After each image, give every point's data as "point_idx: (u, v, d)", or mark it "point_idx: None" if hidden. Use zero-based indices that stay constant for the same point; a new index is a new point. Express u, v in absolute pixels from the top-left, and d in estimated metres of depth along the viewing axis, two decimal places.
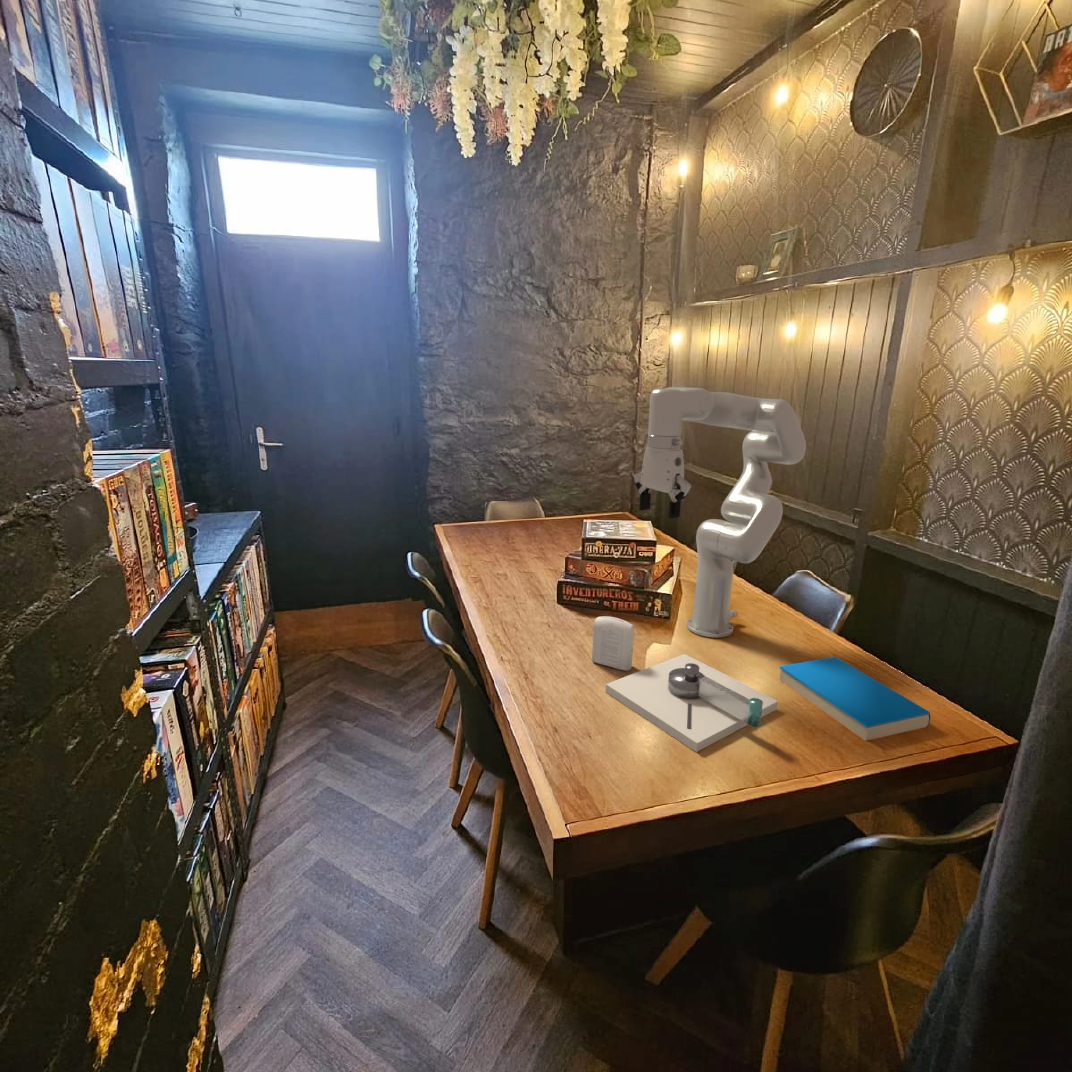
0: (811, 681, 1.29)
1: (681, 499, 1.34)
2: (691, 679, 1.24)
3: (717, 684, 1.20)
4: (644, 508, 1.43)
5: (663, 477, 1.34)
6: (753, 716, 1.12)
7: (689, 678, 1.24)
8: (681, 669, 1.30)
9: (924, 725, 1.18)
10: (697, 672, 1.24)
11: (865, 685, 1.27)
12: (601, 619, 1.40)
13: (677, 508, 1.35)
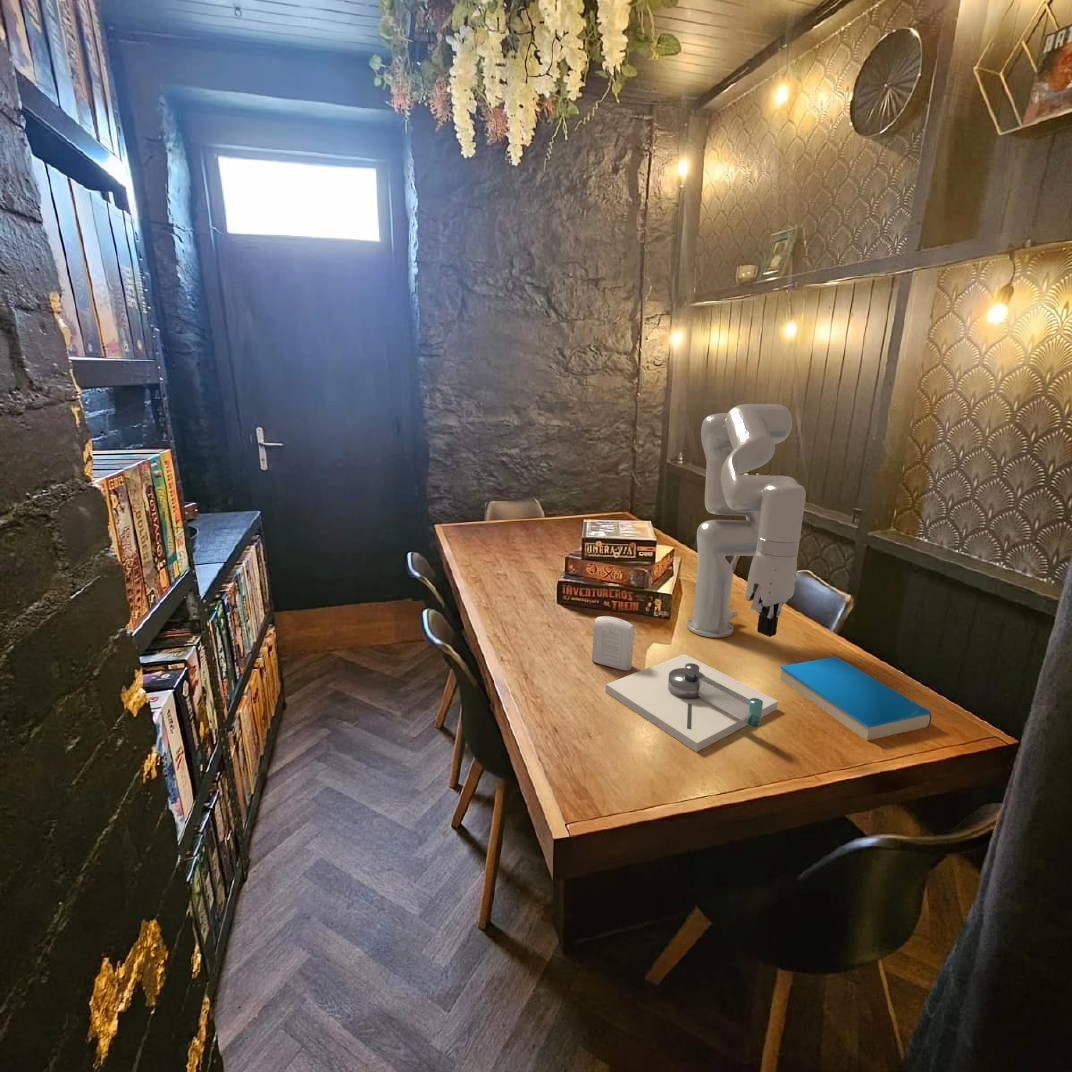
0: (812, 681, 1.29)
1: None
2: (691, 679, 1.24)
3: (717, 684, 1.20)
4: None
5: (791, 584, 1.13)
6: (753, 716, 1.12)
7: (689, 678, 1.24)
8: (681, 669, 1.30)
9: (925, 725, 1.18)
10: (697, 672, 1.24)
11: (866, 685, 1.27)
12: (601, 619, 1.40)
13: None
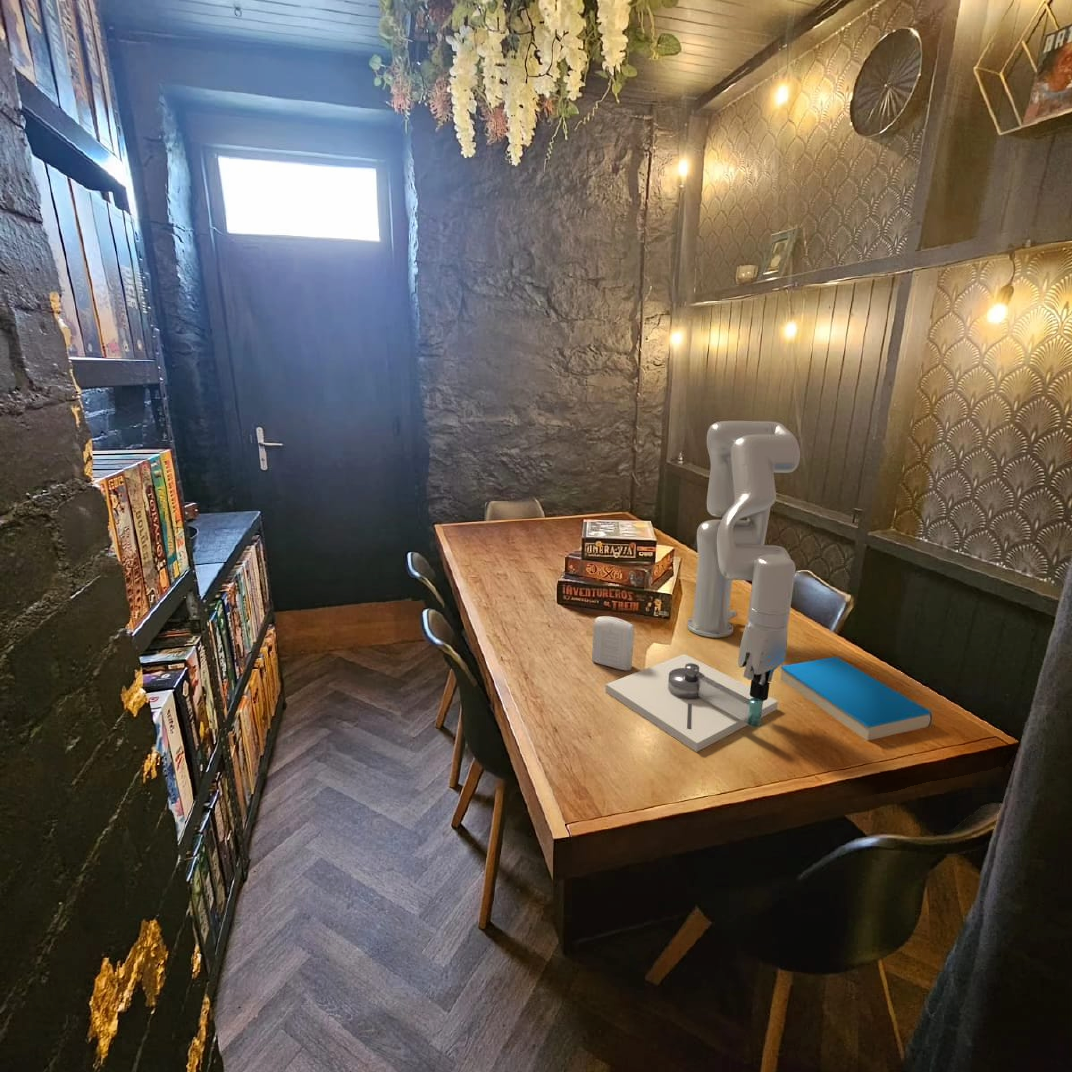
0: (812, 681, 1.29)
1: None
2: (691, 679, 1.24)
3: (717, 684, 1.20)
4: None
5: (782, 651, 1.17)
6: (753, 716, 1.12)
7: (689, 678, 1.24)
8: (681, 669, 1.30)
9: (925, 725, 1.18)
10: (697, 672, 1.24)
11: (866, 685, 1.27)
12: (601, 619, 1.40)
13: None
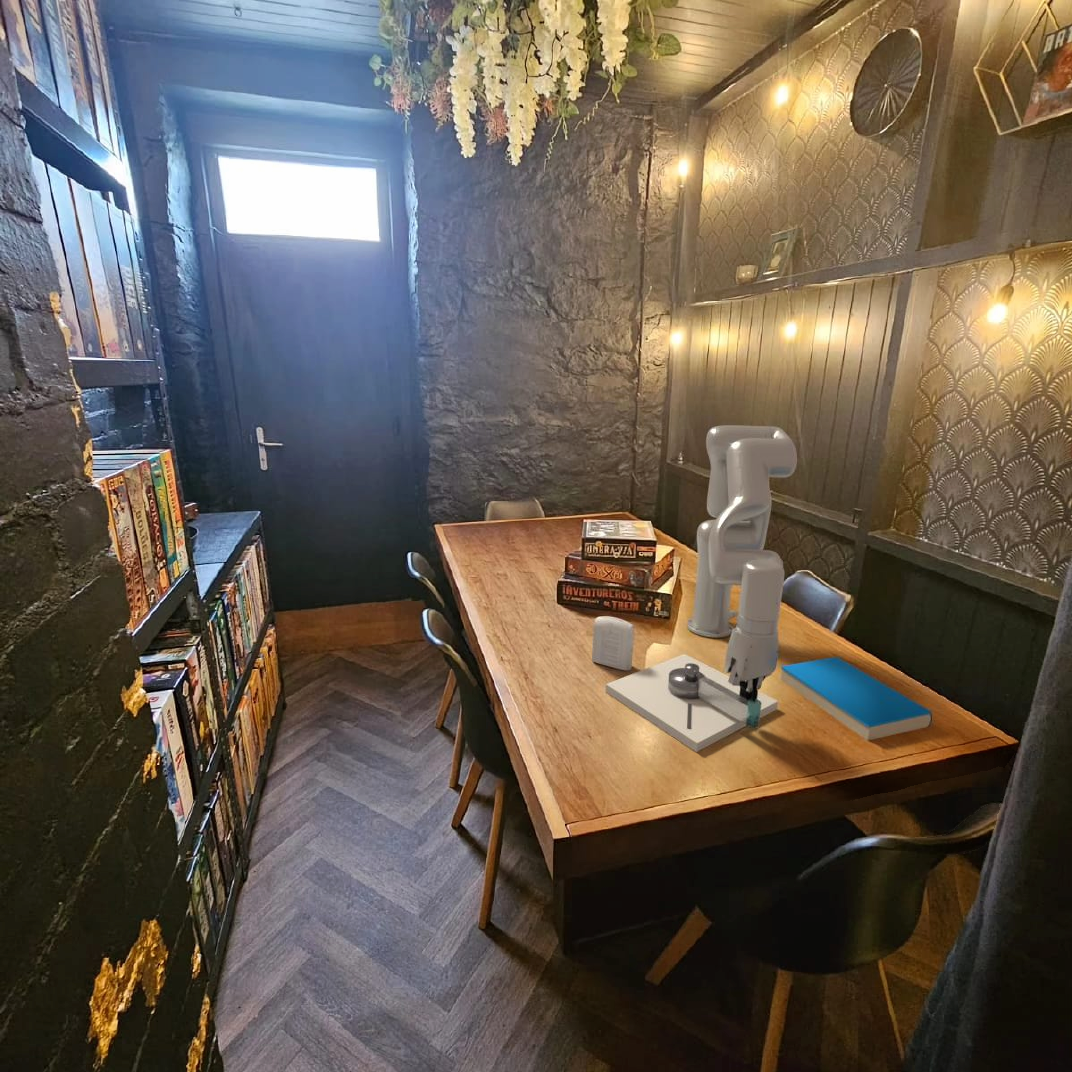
0: (812, 681, 1.29)
1: None
2: (691, 679, 1.24)
3: (716, 684, 1.20)
4: None
5: (772, 660, 1.14)
6: (751, 717, 1.12)
7: (689, 678, 1.24)
8: (682, 669, 1.30)
9: (926, 725, 1.18)
10: (697, 672, 1.24)
11: (866, 685, 1.27)
12: (601, 619, 1.40)
13: None
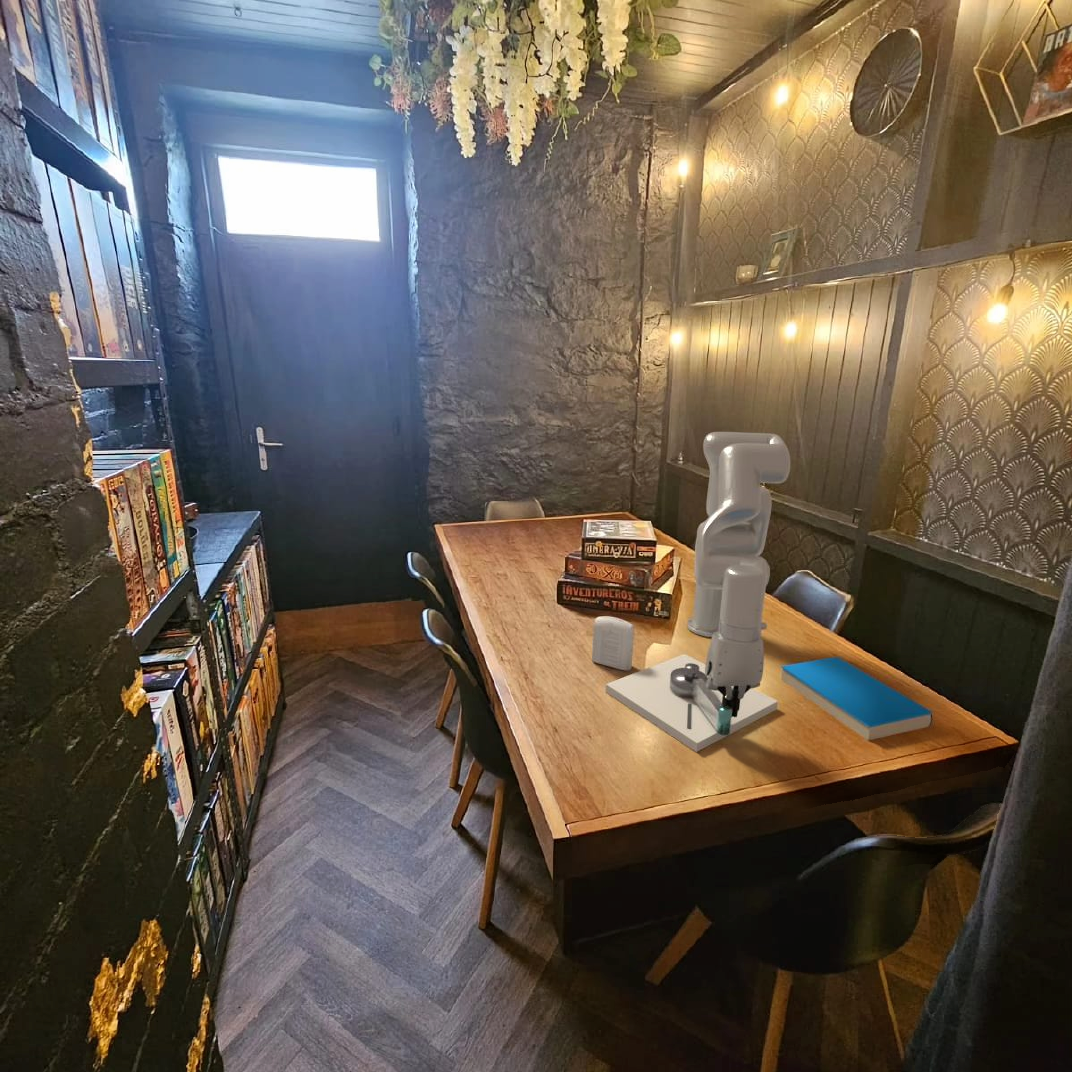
0: (813, 681, 1.29)
1: None
2: (688, 678, 1.24)
3: (706, 687, 1.19)
4: None
5: (754, 670, 1.10)
6: (719, 723, 1.10)
7: (686, 677, 1.25)
8: None
9: (926, 725, 1.18)
10: (694, 673, 1.24)
11: (867, 685, 1.27)
12: (601, 619, 1.40)
13: None
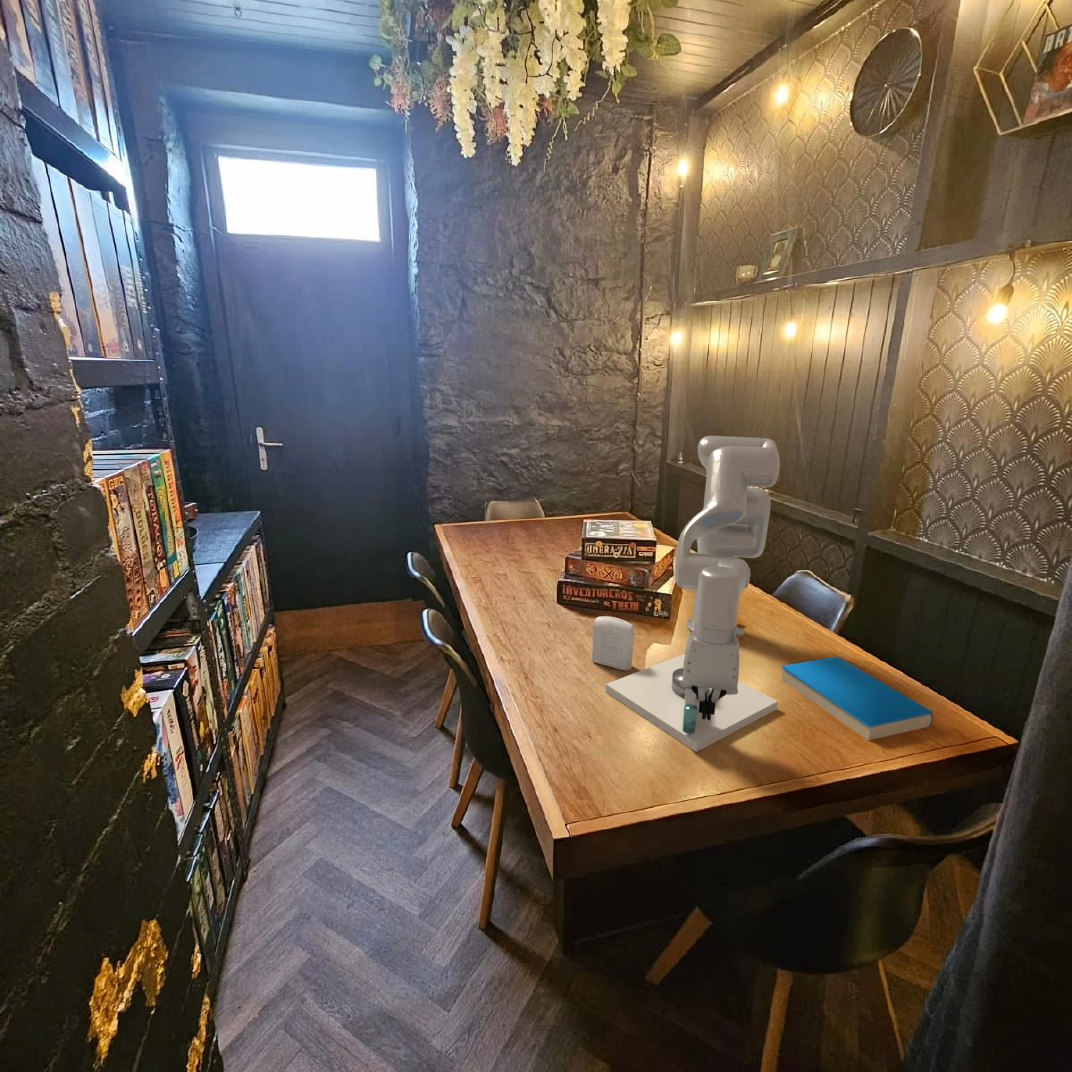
0: (813, 681, 1.29)
1: None
2: None
3: None
4: None
5: (726, 675, 1.08)
6: (683, 720, 1.11)
7: None
8: None
9: (926, 725, 1.18)
10: None
11: (867, 685, 1.27)
12: (601, 619, 1.40)
13: None
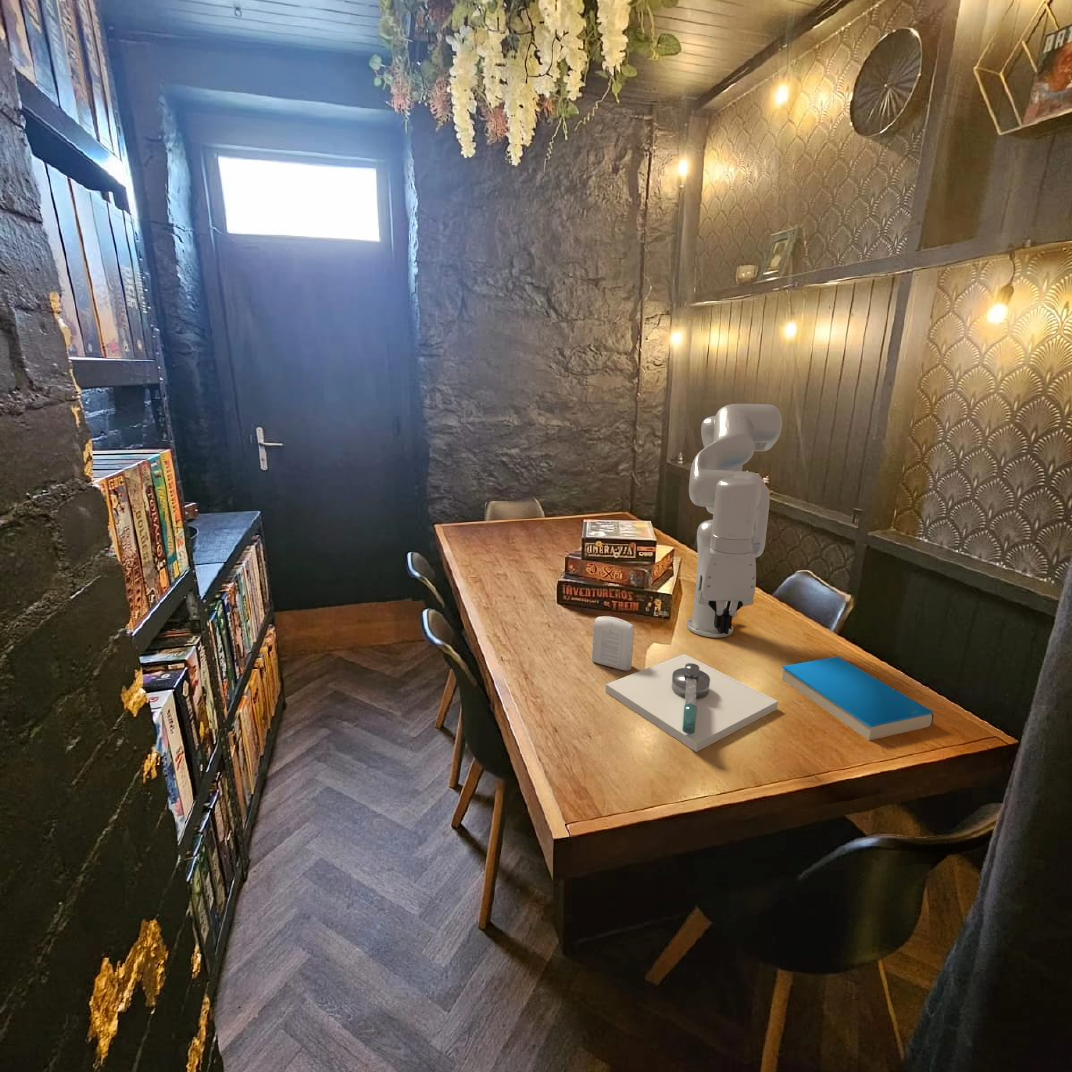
0: (814, 681, 1.29)
1: None
2: (686, 677, 1.25)
3: (693, 687, 1.19)
4: None
5: (745, 585, 1.09)
6: (683, 720, 1.11)
7: (685, 676, 1.25)
8: None
9: (927, 725, 1.18)
10: (692, 673, 1.24)
11: (868, 685, 1.27)
12: (601, 619, 1.40)
13: None
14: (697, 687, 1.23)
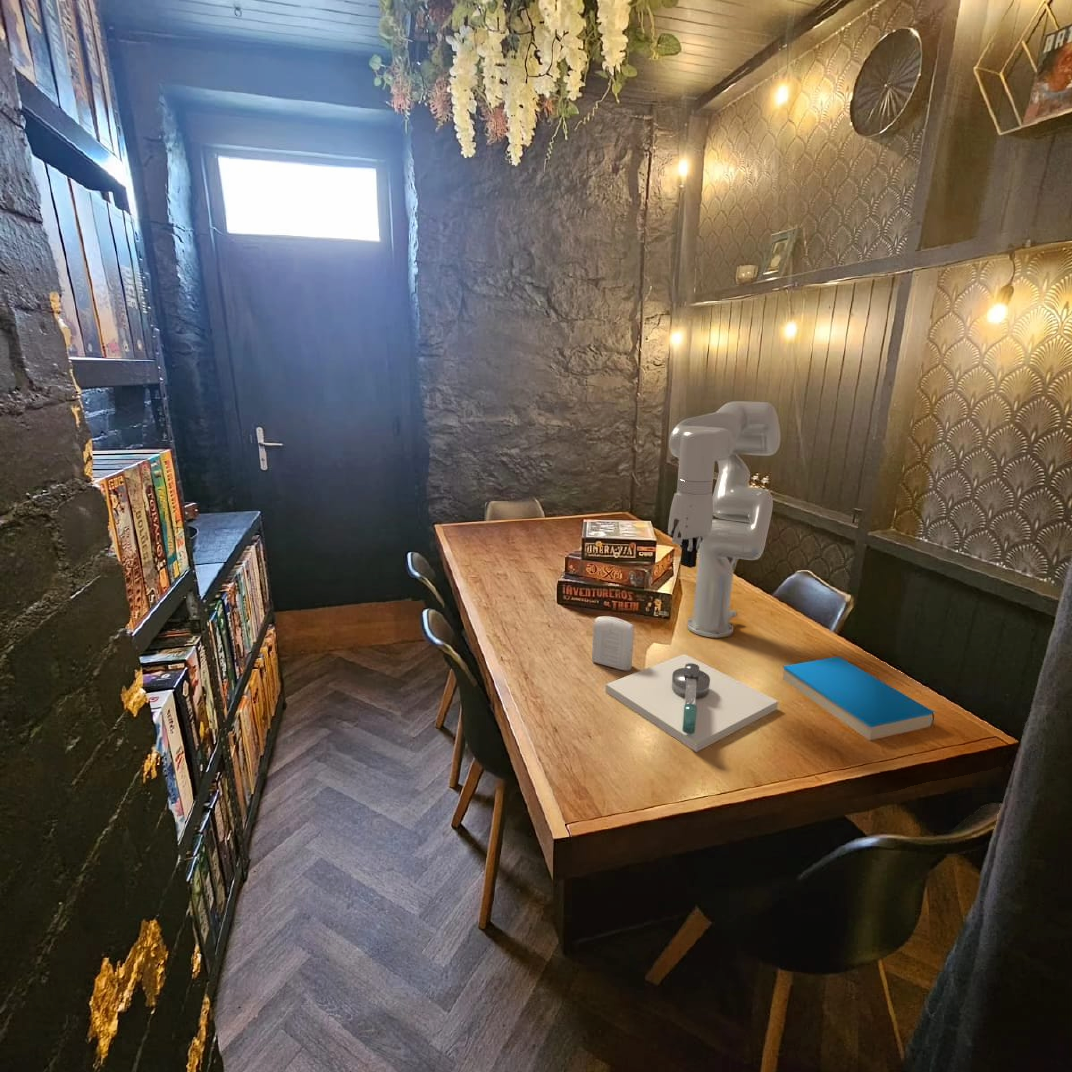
0: (814, 681, 1.29)
1: None
2: (686, 677, 1.25)
3: (693, 687, 1.19)
4: None
5: (708, 520, 1.29)
6: (683, 720, 1.11)
7: (685, 676, 1.25)
8: None
9: (928, 724, 1.18)
10: (692, 673, 1.24)
11: (868, 685, 1.27)
12: (601, 619, 1.40)
13: None
14: (697, 687, 1.23)
